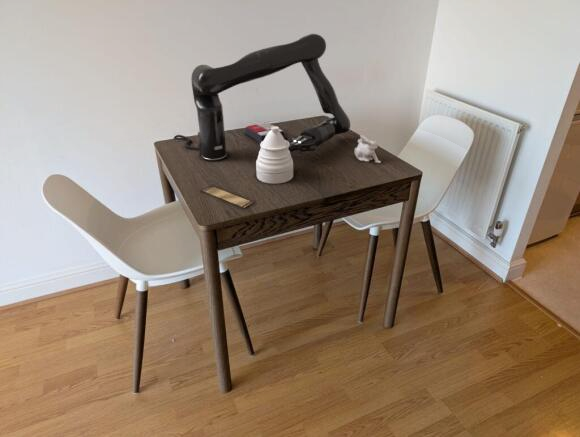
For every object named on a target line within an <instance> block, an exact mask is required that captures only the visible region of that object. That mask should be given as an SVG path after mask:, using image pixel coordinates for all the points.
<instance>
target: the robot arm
mask: <svg viewBox="0 0 580 437" xmlns="http://www.w3.org/2000/svg"><path fill="white" fill-rule="evenodd" d="M326 49H327V42H326V40H325V38H324V37H323V36H322V35H320V34H317V33H309V34H306V35H304V36H302V37H299V39H298V40H294V41H292V42H288V43H285V44H279V45H274V46H269V47H265V48H261V49H258V50H255V51H252V52H249V53H247V54H245V55H244V56H242V57H241V58H240V59H238V60H237V61H235V62H233V63H231V64H228V65H223V66H219V67H212V66H211V65H207V64H200V65H197V66H196V67H195V68H194V69H193V70H192V72H191V78H190V80H191V88H192V96H193V102H194V106H195V108H196V115H197V124H198V131H197V138H198V144H197V147H195V146H191V145H189V144H190V143H191V139H190V138H189V137H188V136H185V135H182V134H176V135H175V136H174V137H173V139H174V140H175V139H177V138H182V139H184V140H186V142H185V143H184V147H185V148H187V149H189V150H195V151H199V154H200V157H201V158H202V159H203V160H205V161H211V162H215V161H221V160H224V159H225V158H227V157H228V153H227V144H226V132H225V119H224V108H223V103H222V101H221V99H220V95H219V94H220V93H223V92H225V91H227V90H229V89H231V88H234V87H236V86H239V85H241V84H245V83H248V82H252V81H255V80H258V79H262V78H265V77H268V76H271V75H274V74H276V73H278V72H281V71H284V70H285V69H288V68H289V67H291V66H293V65H296V64H299V63H300V64H301V66H302V67H303V69H304V70H305V73H306V74H307V76H308V78H309V81H310V82H311V84H312V87H313V89H314V91H315V94H316V96H317V100H318V102H319V104H320V107H321V110H322V112H323V113H324V114H326V115H327V114H329V115H332V117H329V118H326V119H325V120H324V121H322V122H321V123H319V124H316V125H313V126H311V127H308V128H307V129H304V130H303V131H301V133H300V134H299V135H297V136H295V137H291V135H289V136H287V141H288V142H289V143H290V146H289V148H288V149H289V151H290V154H291V153H293V152H300V153H303V152H304V153H305V152H313V151H316V148H317V147H319V146H321V145H323V144H324V143H326V142H327V141H329V140H331V139H332V138H333V137H334V136H337V135H341V134H345V133H348V132H349V131H350V128H351V120H350V118H349V116H348V115H347V113H346V111H345V110H344V108H343V107H342V105H340V102H339V99H338V97H337V94H336V91H335V88H334V86H333V85H332V83H331V82H330V80H329V78H327V76H326V74H325V73H324V72H323V70H322V68H321V65H320V62H319V59H320V58H321V57H322V56H324V54H325V52H326Z"/></svg>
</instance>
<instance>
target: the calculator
mask: <svg viewBox="0 0 580 437" xmlns="http://www.w3.org/2000/svg"><path fill="white" fill-rule="evenodd" d="M273 126H274V125H272V124H271V123H270V122H261V123H258V124H251V125H247V126H245V135H247V136H248V137H250V138H252V139H254V140H255V141H256V142H257V143H258V144H260V143H261V142H262V141H264V139H265V137H266V135H267V134H268V132H269V131H270V130H271V127H273ZM279 132H280V133H281V134H282V136H283V138H284V140H286V139H285V131H284V130H283V129H281V128H279Z"/></svg>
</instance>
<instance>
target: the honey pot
mask: <svg viewBox="0 0 580 437" xmlns="http://www.w3.org/2000/svg"><path fill="white" fill-rule="evenodd" d="M279 129H280V127H279V126H277V125H273V127H271V130H270V131H269V132H268V134H267V135H266V137H265V139H264V141H262V142H261V143H259V147H260V149H259V151H258V155H257V159H256V161H255V168H256V169H255V170H256V178H257V179H258V180H259V181H260V182H262V183H266V184H274V185H275V184H277V185H278V184H283V183H287V182H290V181H291V180H292V179H293V178H294V160H293V158H292V154H291V153H290V151H289V149H288V148H289V146H290V143H289V142H288V139H287V140H286V139H284V138H285V137H284V138H283V136H282V134H281V133H280V132H279Z"/></svg>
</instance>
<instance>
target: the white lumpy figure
mask: <svg viewBox="0 0 580 437" xmlns="http://www.w3.org/2000/svg"><path fill="white" fill-rule="evenodd" d="M357 143H358V144H357V145H356V146H357V147H355V148H354V156H355V158H356V159H357V160H359V161H362V162H363V161H364V162H370V161H373V160H374V163H376V164H377V163H378V164H381V163H382V161H381V160H379V159H378V155H377V154H376V151H375V150H376V149H378V146H379V145H378V143H377V142H376V141H375V140H370V139H368V138H367V137H366V136H365V135H364V134H360V135H359V138H358V139H357Z"/></svg>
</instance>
